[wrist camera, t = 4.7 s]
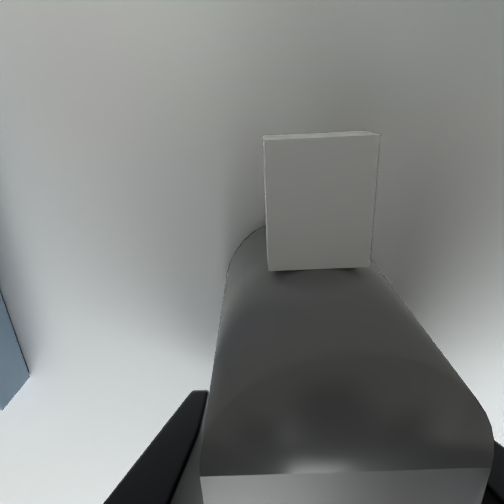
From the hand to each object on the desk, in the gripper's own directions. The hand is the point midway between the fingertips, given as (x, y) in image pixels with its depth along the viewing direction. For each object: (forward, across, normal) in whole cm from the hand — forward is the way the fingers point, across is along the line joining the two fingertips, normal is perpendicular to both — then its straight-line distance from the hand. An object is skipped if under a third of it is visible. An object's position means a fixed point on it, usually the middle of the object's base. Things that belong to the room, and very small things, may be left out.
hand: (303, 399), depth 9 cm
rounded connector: (+1, 0, 0) cm, 1 cm away
